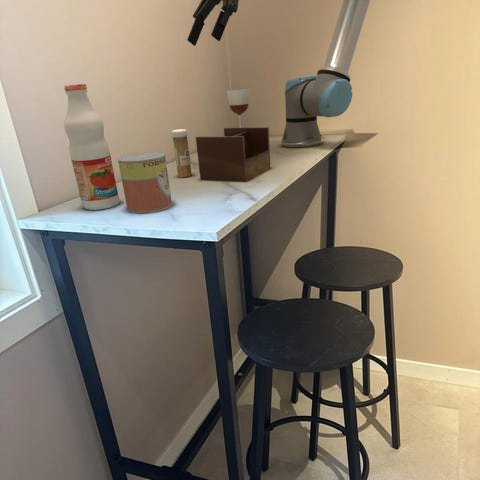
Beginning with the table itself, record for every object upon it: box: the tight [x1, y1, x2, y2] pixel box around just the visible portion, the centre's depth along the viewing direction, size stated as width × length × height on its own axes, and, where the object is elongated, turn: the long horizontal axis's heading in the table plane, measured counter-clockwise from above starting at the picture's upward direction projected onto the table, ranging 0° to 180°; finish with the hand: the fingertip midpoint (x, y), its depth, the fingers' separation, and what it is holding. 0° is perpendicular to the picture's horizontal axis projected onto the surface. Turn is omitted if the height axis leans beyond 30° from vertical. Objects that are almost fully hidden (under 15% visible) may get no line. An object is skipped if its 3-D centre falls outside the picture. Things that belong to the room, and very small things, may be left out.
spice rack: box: [195, 126, 271, 183], centre depth 138 cm, size 18×15×12 cm
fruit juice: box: [63, 83, 120, 211], centre depth 113 cm, size 9×9×28 cm
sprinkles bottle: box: [171, 128, 193, 178], centre depth 141 cm, size 5×5×13 cm
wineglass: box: [226, 88, 250, 128], centre depth 185 cm, size 8×9×20 cm
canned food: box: [117, 151, 173, 214], centre depth 112 cm, size 11×11×12 cm
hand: (202, 40), depth 129 cm, fingers open, 13 cm apart
